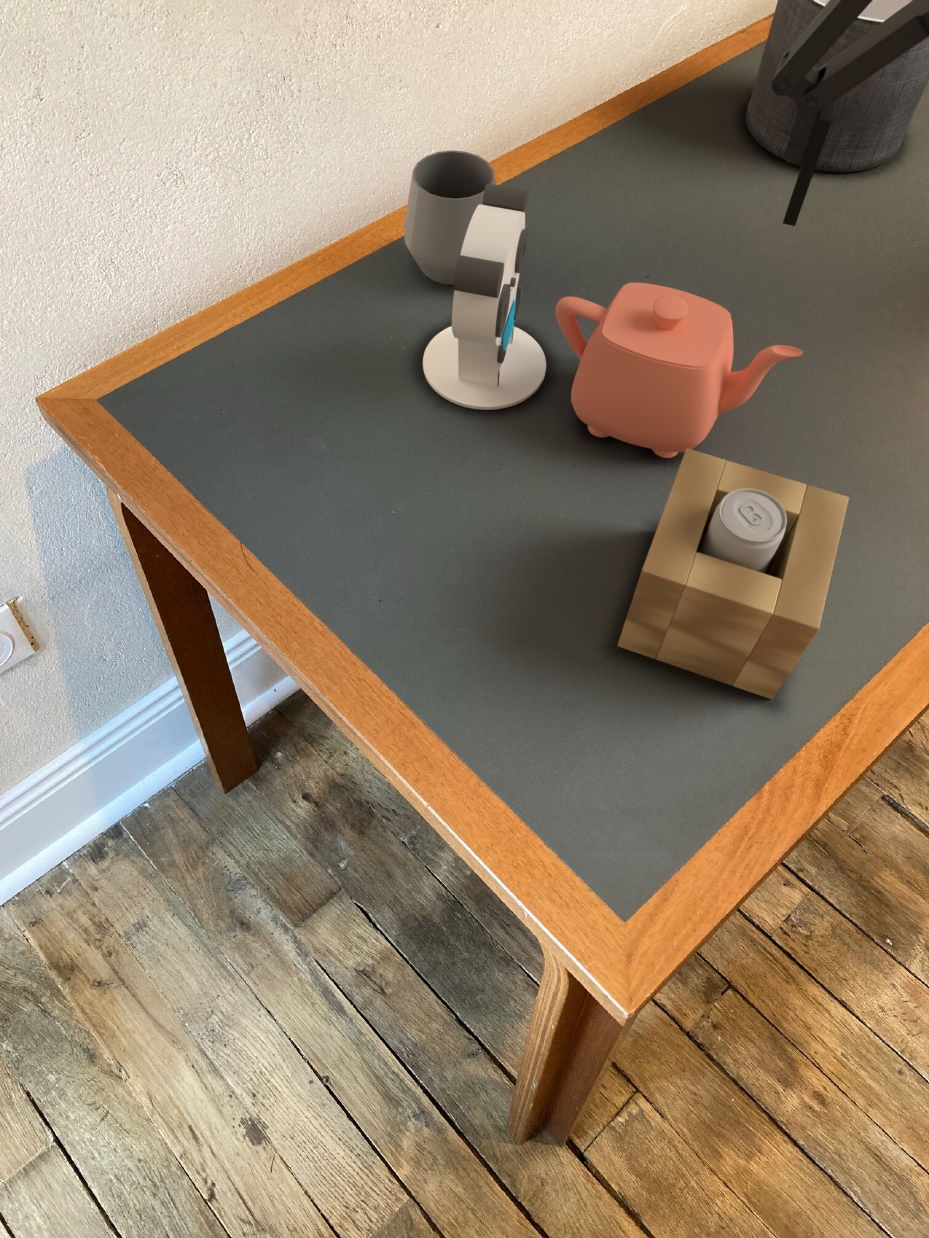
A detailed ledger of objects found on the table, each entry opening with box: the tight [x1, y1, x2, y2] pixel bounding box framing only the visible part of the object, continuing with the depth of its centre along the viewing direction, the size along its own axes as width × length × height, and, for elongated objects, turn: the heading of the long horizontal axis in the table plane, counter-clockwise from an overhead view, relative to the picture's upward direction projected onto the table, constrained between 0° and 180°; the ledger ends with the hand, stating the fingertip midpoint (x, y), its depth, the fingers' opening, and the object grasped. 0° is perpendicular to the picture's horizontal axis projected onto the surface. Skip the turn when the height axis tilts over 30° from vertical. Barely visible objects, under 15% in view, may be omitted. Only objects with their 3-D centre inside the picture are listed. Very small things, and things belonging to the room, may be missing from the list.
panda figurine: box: [422, 183, 547, 411], centre depth 80 cm, size 12×11×15 cm
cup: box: [403, 150, 497, 286], centre depth 90 cm, size 10×9×10 cm
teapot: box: [555, 282, 804, 459], centre depth 79 cm, size 20×12×12 cm, turn 67°
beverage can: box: [698, 488, 787, 573], centre depth 68 cm, size 5×5×12 cm
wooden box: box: [617, 448, 850, 700], centre depth 69 cm, size 12×12×10 cm
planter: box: [745, 0, 929, 173], centre depth 102 cm, size 18×18×16 cm
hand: (905, 238), depth 57 cm, fingers open, 13 cm apart
